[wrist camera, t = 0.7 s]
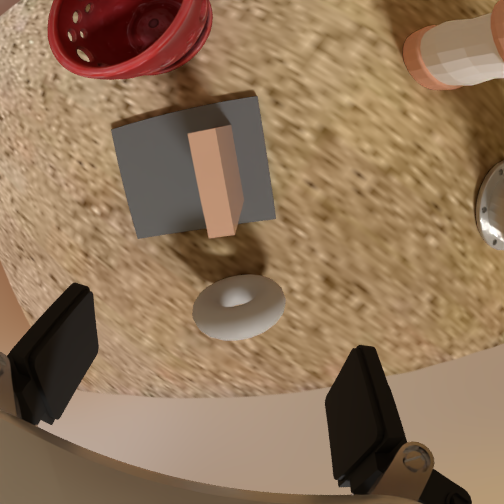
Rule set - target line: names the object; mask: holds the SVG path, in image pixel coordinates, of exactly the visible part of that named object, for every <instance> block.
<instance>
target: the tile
mask: <svg viewBox="0 0 504 504" xmlns="http://www.w3.org/2000/svg"><path fill="white" fill-rule="evenodd" d="M188 139H189V144H190V149H191V154H192V160H193V165H194V170H195V175H196V180H197V184H198V189H199V194H200V199H201V204H202V208H203V213H204V218H205V223H206V227H207V232H208V236H209V238H216V237H223V236H230V235H235V232H236V229H237V225H238V221H239V217H240V214H241V210H242V206H243V202H244V197H243V191H242V185H241V179H240V173H239V167H238V162H237V156H236V150H235V144H234V138H233V132H232V127H231V125H227V126H221V127H216V128H210V129H206V130H201V131H197V132H193V133H188Z"/></svg>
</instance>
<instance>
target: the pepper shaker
mask: <svg viewBox="0 0 504 504" xmlns="http://www.w3.org/2000/svg"><path fill="white" fill-rule="evenodd" d="M403 57H404V63H405V65H406V67H407V69H408V71H409V73H410V74H411V75H412V77H413V78H414V79H415V80H416V81H417V82H418V83H419V84H421V85H422V86H424V87H426V88H428V89H431V90H452V89H457V88H460V87H462V86H473V85H476V84H479V83H482V82H485V81H489V80H492V79H495V78H504V0H500V1H498V2H497V3H496V5H495V6H494V9H493V11H492V13H489V14H486V15H482V16H479V17H476V18H473V19H463V20H452V21H447V22H444V23H442V24H440V25H431V26H427V27H424V28H422V29H420V30H418V31H416V32H414V33H412V34H411V35H410V36H408V37H407V39H406V41H405V43H404V47H403Z"/></svg>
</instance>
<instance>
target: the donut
mask: <svg viewBox="0 0 504 504" xmlns="http://www.w3.org/2000/svg"><path fill="white" fill-rule="evenodd" d="M285 300H286V299H285V296H284V293H283V291H282V288H281V287H280V286H279V285H278V284H277V283H276V282H275V281H273V280H272V279H270V278H267V277H264V276H261V275H252V274H248V275H237V276H232V277H228V278H225V279H222V280H220V281H217V282H215V283H213V284H212V285H210V286H208V287H207V288H206V289H204V290H203V291H202V292H201V293H200V294H199V296H198V297H197V299H196V300H195V302H194V305H193V313H192V314H193V319H194V321H195V323H196V325H197V326H198V328H199V329H200V330H201V331H202V332H204V333H205V334H207V335H208V336H210V337H213V338H217V339H221V340H242V339H247V338H251V337H254V336H256V335H259V334H261V333H263V332H265V331H266V330H268V329H269V328H270V327H272V326H273V325H274V324H276V322H277V321H278V320H279V318H280V317H281V316H282V314H283V312H284V307H285ZM239 304H242V305H239ZM235 305H239V306H235ZM233 306H234V307H233Z"/></svg>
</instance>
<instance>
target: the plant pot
mask: <svg viewBox="0 0 504 504" xmlns="http://www.w3.org/2000/svg"><path fill="white" fill-rule="evenodd" d="M88 4H90V6H91V7H90V10H89V11H88V12H86V11H85V8H86V6H87V5H88ZM74 12H77V13H78V21H77V23H74V22H73V14H74ZM212 19H213V14H212V8H211V4H210V2H209V0H54V1H53V4H52V7H51V10H50V14H49V20H48V40H49V44H50V48H51V50H52V52H53V54H54V56H55V58H56V59H57V61H58V62H59V63H60V64H61V65H62V66H63V67H64V68H66V69H67V70H69V71H70V72H72V73H74V74H77V75H80V76H83V77H88V78H94V79H109V80H112V79H129V78H134V77H138V76H143V75H158V74H163V73H166V72H170V71H172V70H174V69H177V68H179V67H180V66H182V65H184V64H185V63H187V62H188V61H189V60H191V59H192V58H193V57H194V56H195V55H196V54H197V53H198V52H199V50H200V49H201V48H202V47H203V45H204V44H205V42H206V40H207V38H208V36H209V34H210V30H211V27H212ZM80 31H82V33H83V38H82V37H81V35H80ZM68 32H69V33H70V34H71V36H72V41H70V39H69V37H68ZM77 49H79V50H81V51H83V52H84V53H85V54H86V55H87V56H88V58H89V60H90V62H87V61H85V60H83V59H81V58H80V57H79V55H78V54H77Z"/></svg>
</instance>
